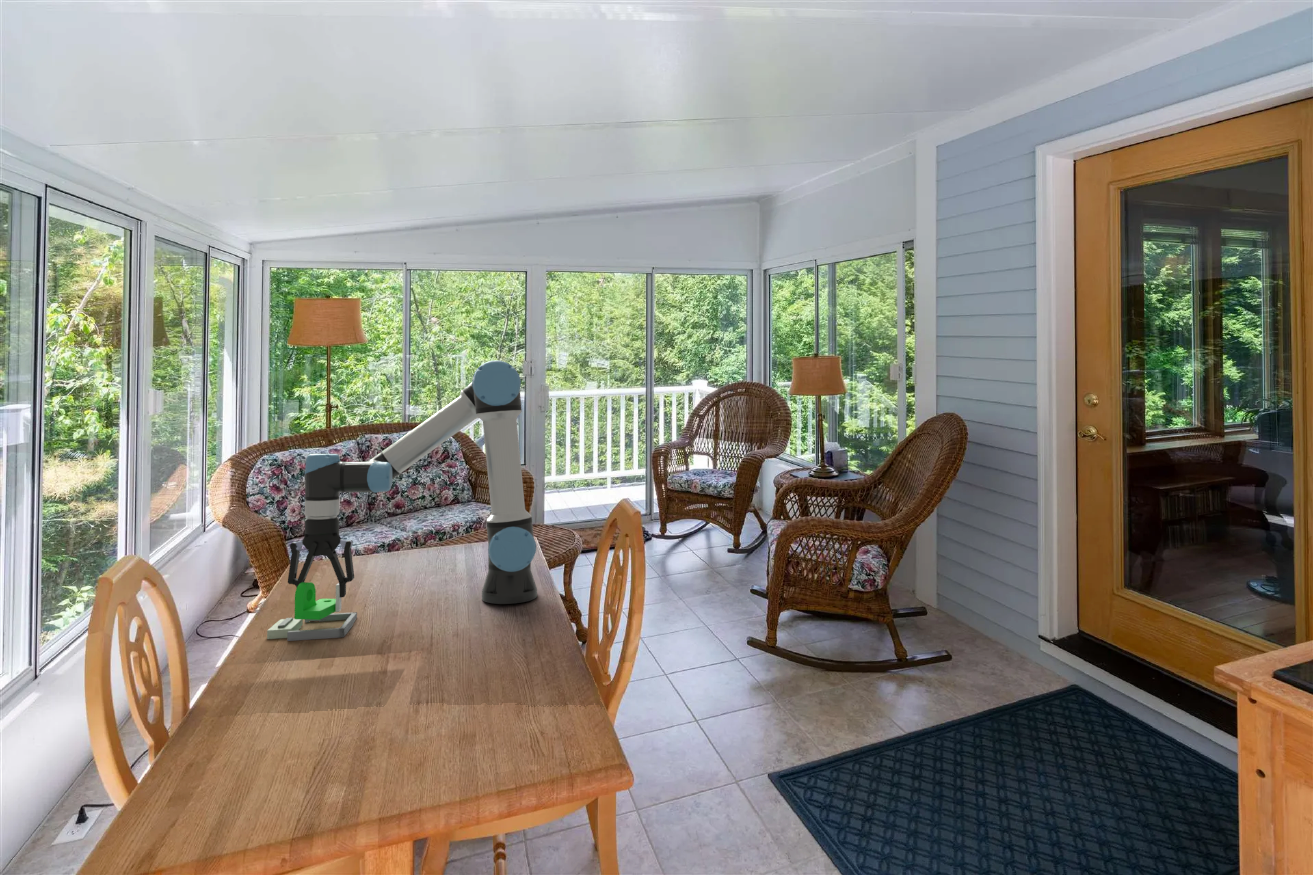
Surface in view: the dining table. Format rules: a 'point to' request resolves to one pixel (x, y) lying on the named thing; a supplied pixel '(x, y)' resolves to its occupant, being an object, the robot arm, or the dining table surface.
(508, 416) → the robot arm
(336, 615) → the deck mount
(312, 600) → the mechanical part
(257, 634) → the dining table surface
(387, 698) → the dining table surface
